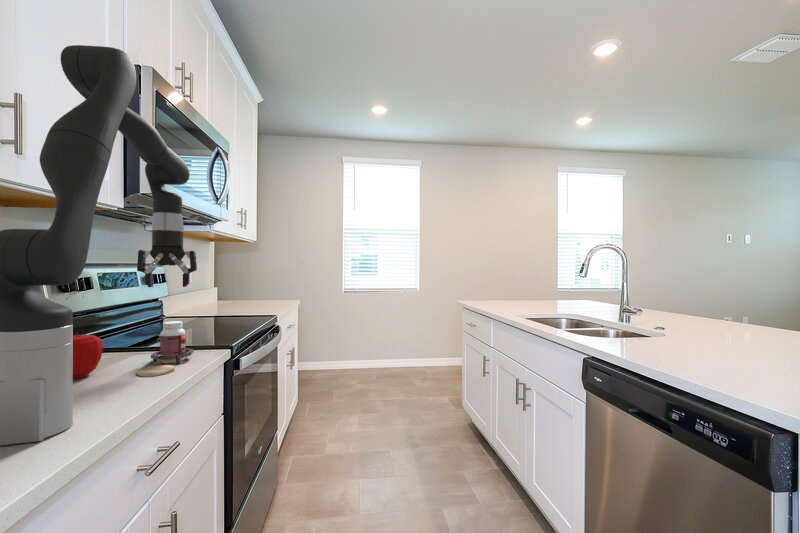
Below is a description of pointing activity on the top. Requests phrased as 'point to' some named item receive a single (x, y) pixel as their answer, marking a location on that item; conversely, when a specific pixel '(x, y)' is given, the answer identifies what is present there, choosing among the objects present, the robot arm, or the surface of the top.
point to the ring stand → (172, 356)
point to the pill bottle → (172, 340)
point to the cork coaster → (156, 370)
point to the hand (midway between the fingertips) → (168, 286)
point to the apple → (86, 354)
